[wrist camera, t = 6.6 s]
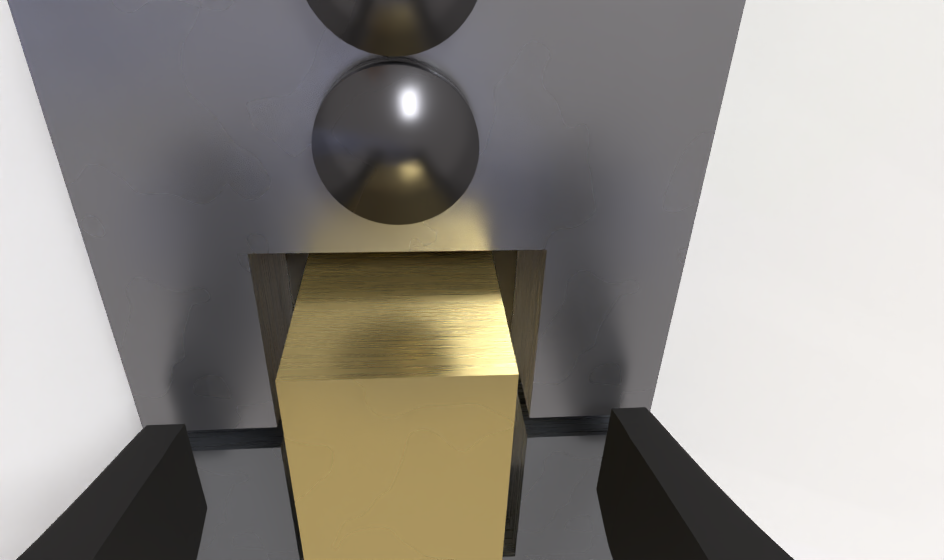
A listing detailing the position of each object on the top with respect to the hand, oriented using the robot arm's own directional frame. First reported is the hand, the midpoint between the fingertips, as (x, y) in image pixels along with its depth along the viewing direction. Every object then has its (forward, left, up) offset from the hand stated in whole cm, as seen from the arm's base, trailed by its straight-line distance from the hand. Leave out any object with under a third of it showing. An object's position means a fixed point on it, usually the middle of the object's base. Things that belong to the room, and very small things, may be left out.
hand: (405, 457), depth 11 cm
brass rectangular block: (0, 0, -3) cm, 3 cm away
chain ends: (0, 0, -3) cm, 3 cm away
